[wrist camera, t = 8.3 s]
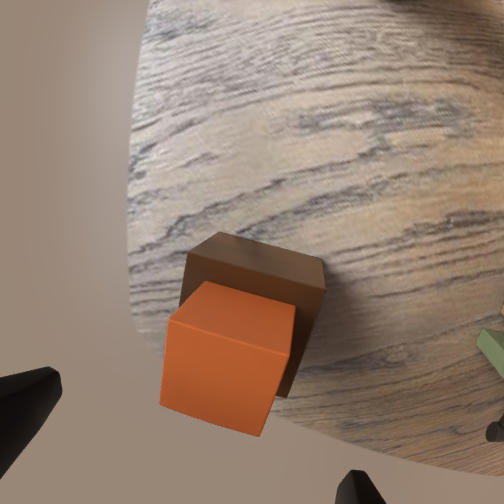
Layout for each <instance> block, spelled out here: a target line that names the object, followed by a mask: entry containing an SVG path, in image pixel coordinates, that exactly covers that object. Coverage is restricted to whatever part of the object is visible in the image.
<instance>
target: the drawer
mask: <svg viewBox="0 0 504 504" xmlns="http://www.w3.org/2000/svg"><path fill="white" fill-rule="evenodd" d="M500 313H501V314H502V315H503V316H504V305H503V307H502V309H501V312H500ZM475 344H476V345H477V347H478V348H479V349H480V350H481V351H482V353H483V354H484V355H485V356H486V358H487V359H488V360H489V361H490V363H491V364H492V365H493V366H494V368H495V369H496V370H497V371H498V373H499V374H500V375H501V377H502V378H503V379H504V333H501V332H497V331H493V330H489V329H485V328H482V330H481V332H480V335H479V337H478V339H477V341H476V343H475ZM486 439H487V441H489V442H501V441H504V414H503V416H502V417H501V418H500V420H499V422H492V423H491V424H490V425H489V426H488V428H487V430H486Z"/></svg>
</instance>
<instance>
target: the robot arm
mask: <svg viewBox="0 0 504 504" xmlns="http://www.w3.org/2000/svg"><path fill="white" fill-rule="evenodd" d="M61 395H62V385H61V378H60V374H59V372H58V371H56V370H55V369H53V368H51V367H43V368H39V369H35V370H30V371H26V372H22V373H18V374H13V375H9V376H4V377H0V479H1V478H2V477H3V475H4V474H5V473H6V471H7V470H8V469H9V468H10V466H11V465H12V464H13V462H14V461H15V460H16V459H17V457H18V456H19V455H20V453H21V452H22V451H23V450H24V449H25V447H26V446H27V445H28V444H29V442H30V441H31V440H32V438H33V437H34V436H35V435H36V434H37V432H38V431H39V430H40V428H41V427H42V425H43V424H44V422H45V421H46V419H47V417H48V416H49V414H50V413H51V411H52V410H53V408H54V407H55V405H56V404H57V402H58V400H59V399H60V397H61ZM335 504H386V502H385V501H384V499H383V498H382V496H381V495H380V493H379V492H378V490H377V489H376V487H375V486H374V484H373V483H372V481H371V480H370V478H369V477H368V475H367V474H366V472H364V471H361V470H351V471H349V473H348V474H347V475H346V476H345V478H344V479H343V480H342V482H341V483H340V484H339V486H338V489H337V494H336V501H335Z"/></svg>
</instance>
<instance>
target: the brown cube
mask: <svg viewBox="0 0 504 504" xmlns="http://www.w3.org/2000/svg"><path fill="white" fill-rule="evenodd" d="M204 281H209V282H212V283H215V284H219V285H222V286H226V287H229V288H233V289H236V290H240V291H243V292H247V293H250V294H254V295H258V296H261V297H265V298H268V299H272V300H276V301H279V302H283V303H287V304H291V305H294V306H296V310H295V318H294V326H293V335H292V342H291V350H290V357H289V360H288V363H287V365H286V368H285V371H284V374H283V377H282V379H281V382H280V385H279V388H278V390H277V393H276V396H279V397H283V398H287V397H288V394H289V392H290V389H291V387H292V384H293V381H294V379H295V376H296V374H297V371H298V368H299V366H300V363H301V360H302V358H303V355H304V352H305V350H306V347H307V344H308V341H309V339H310V336H311V333H312V330H313V327H314V324H315V321H316V319H317V316H318V313H319V310H320V307H321V304H322V301H323V298H324V295H325V292H326V287H325V280H324V273H323V266H322V259H320V258H316V257H313V256H309V255H305V254H302V253H298V252H294V251H290V250H287V249H283V248H279V247H275V246H272V245H268V244H264V243H260V242H257V241H253V240H249V239H245V238H241V237H238V236H234V235H230V234H226V233H222V232H218V233H216V234H215V235H213V236H212V237H210V238H208V239H207V240H205V241H204V242H202V243H201V244H199V245H198V246H196V247H195V248H193V249H192V250H190V251H188V253H187V259H186V265H185V271H184V277H183V283H182V289H181V296H180V303H179V307H180V306H181V305H182V304H183V303H184V302H185V301H186V300H187V299H188V298H189V297H190V296H191V295H192V294H193V293H194V292H195V291H196V290H197V289H198V288H199V287H200V286H201V285H202V284H203V282H204Z"/></svg>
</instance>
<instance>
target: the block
mask: <svg viewBox="0 0 504 504" xmlns="http://www.w3.org/2000/svg"><path fill="white" fill-rule="evenodd" d="M295 310H296V306H294V305H291V304H287V303H283V302H279V301H276V300H272V299H268V298H265V297H261V296H258V295H254V294H250V293H247V292H243V291H240V290H236V289H233V288H229V287H226V286H222V285H219V284H215V283H212V282H209V281H204V282H203V284H202V285H201V286H200V287H199V288H198V289H197V290H196V291H195V292H194V293H193V294H192V295H191V296H190V297H189V298H188V299H187V300H186V301H185V302H184V303H183V304H182V305H181V306H180V307H179V308H178V309H177V310H176V311H175V313H174V314H173V315H172V316H171V317H170V318H169V319H168V323H167V332H166V340H165V349H164V359H163V368H162V379H161V390H160V403H159V404H160V405H161V406H164V407H166V408H169V409H172V410H174V411H177V412H180V413H182V414H185V415H188V416H191V417H194V418H197V419H200V420H203V421H206V422H209V423H212V424H215V425H218V426H221V427H225V428H228V429H232V430H235V431H238V432H242V433H246V434H250V435H254V436H257V437H259V436H260V434H261V432H262V429H263V427H264V424H265V422H266V419H267V417H268V414H269V411H270V409H271V406H272V404H273V401H274V398H275V396H276V393H277V390H278V388H279V385H280V382H281V379H282V377H283V374H284V371H285V368H286V365H287V363H288V360H289V357H290V350H291V342H292V335H293V326H294V318H295Z"/></svg>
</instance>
